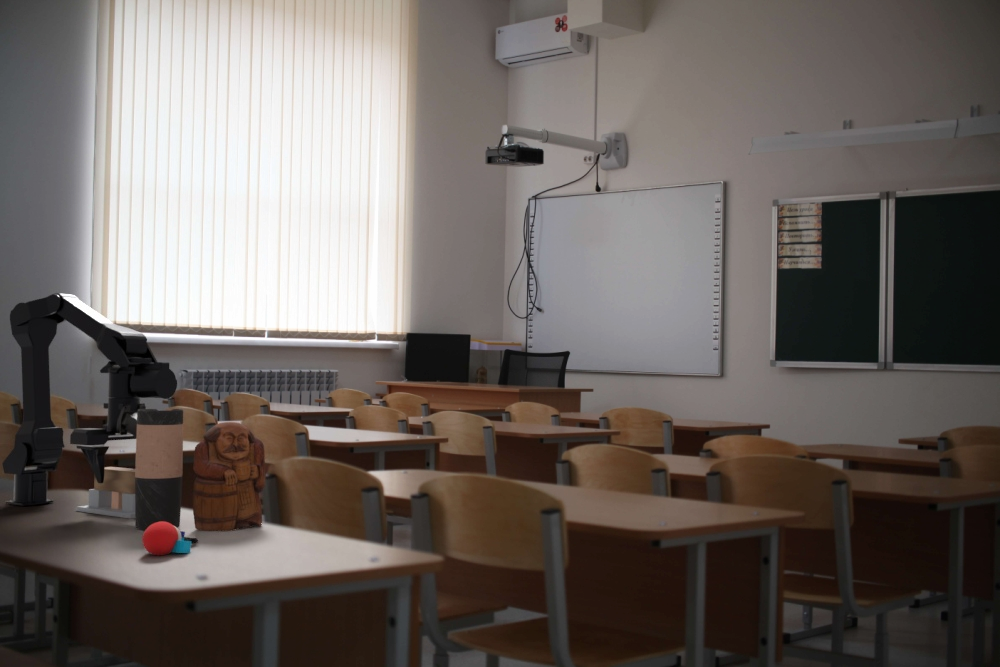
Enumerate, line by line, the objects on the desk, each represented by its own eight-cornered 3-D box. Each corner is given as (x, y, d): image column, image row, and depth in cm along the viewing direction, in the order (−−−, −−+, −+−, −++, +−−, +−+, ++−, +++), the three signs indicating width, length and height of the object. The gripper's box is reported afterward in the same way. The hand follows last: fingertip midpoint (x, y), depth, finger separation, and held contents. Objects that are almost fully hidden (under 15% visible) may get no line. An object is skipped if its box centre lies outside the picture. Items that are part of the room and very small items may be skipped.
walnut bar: (94, 489, 187) (94, 468, 187) (110, 487, 190) (110, 466, 190) (134, 494, 181) (135, 472, 181) (150, 492, 183) (151, 470, 184)
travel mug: (150, 532, 163) (153, 410, 163) (124, 527, 167) (127, 409, 168) (190, 527, 169) (193, 409, 170) (164, 522, 173) (166, 408, 174)
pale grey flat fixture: (76, 510, 186) (77, 489, 186) (117, 505, 194) (118, 485, 194) (130, 518, 177) (131, 496, 178) (171, 512, 185) (172, 491, 185)
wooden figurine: (207, 533, 162) (210, 424, 163) (188, 529, 166) (191, 422, 167) (270, 526, 170) (272, 421, 171) (250, 522, 175) (252, 420, 176)
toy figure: (152, 553, 154) (125, 554, 139) (157, 521, 155) (130, 518, 140) (201, 557, 154) (179, 558, 140) (206, 525, 155) (184, 523, 141)
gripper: (107, 399, 174) (105, 489, 173) (192, 398, 189) (190, 479, 189) (69, 398, 180) (67, 484, 179) (155, 396, 195) (153, 475, 195)
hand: (122, 481), depth 185 cm, fingers open, 9 cm apart
